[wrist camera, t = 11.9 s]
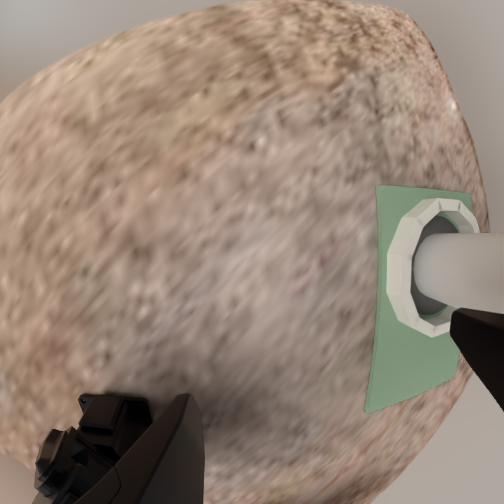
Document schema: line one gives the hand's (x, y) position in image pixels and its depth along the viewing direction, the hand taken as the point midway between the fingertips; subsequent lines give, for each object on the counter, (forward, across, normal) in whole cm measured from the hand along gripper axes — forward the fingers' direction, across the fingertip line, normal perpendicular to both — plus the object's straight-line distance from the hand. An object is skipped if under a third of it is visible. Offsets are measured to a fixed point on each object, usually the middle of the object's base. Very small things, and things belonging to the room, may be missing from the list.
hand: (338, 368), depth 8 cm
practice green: (+13, -14, +8) cm, 21 cm away
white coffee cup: (+13, -14, +5) cm, 20 cm away
